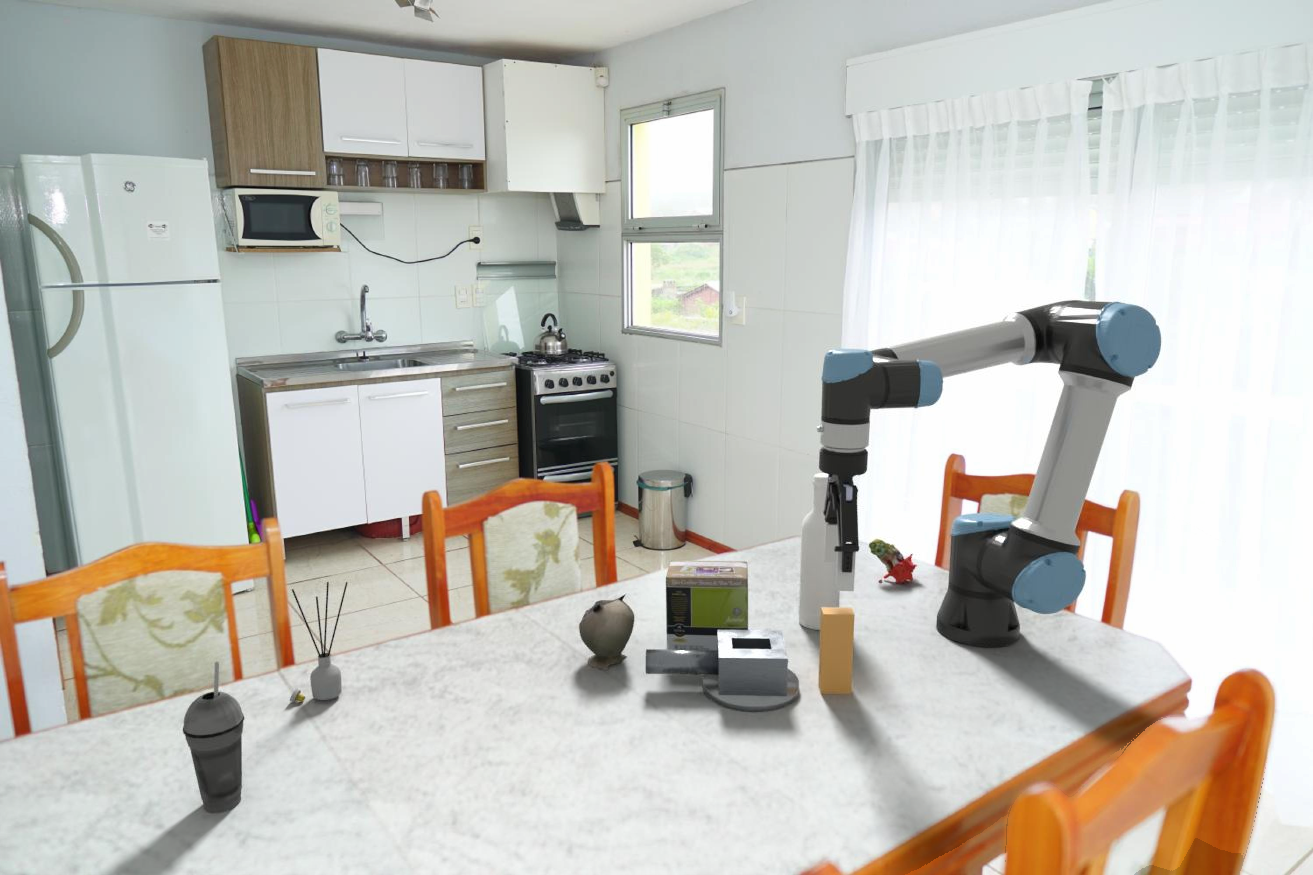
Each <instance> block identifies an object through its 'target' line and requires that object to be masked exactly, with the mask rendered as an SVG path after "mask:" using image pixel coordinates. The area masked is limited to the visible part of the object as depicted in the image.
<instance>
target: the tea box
mask: <svg viewBox="0 0 1313 875" xmlns="http://www.w3.org/2000/svg"><path fill="white" fill-rule="evenodd" d="M748 571H749V570H748V561H742V560H738V561H737V560H736V561H734V560H733V561H732V560H730V561H729V560H725V561H724V560H675V559H673V560H670V561H669V564H668V567H667V572H666V575H665V606H666V607H665V613H666V614H665V616H666V618H665V620H666V623H665V624H666V625H665V626H666V629H665V630H666V650H717V630H749V574H748Z"/></svg>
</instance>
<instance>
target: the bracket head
mask: <svg viewBox="0 0 1313 875" xmlns="http://www.w3.org/2000/svg"><path fill="white" fill-rule="evenodd" d="M785 644H786V643H785V640H784V635H783V631H782V630H780V629H779V630H777V629H774V630H772V629H771V630H770V629H768V630H767V629H759V630H758V629H748V630H717V650H667V649H654V648H653V649H650V648H649V649H646V650H645V674H646V675H688V676H689V675H696V676H697V675H698V676H699V675H700V676H702V675H703V676H702V692H703V693H704V695H705V696H706V698H708V699H709V700H710V701H712V702H713V703H715V704H717V705H719V706H721V707H723V708H727V709H730V710H734V711H740V712H750V713H758V712H759V713H761V712H770V711H776V710H780V709H782V708H785V707H788V706H789V705H791V704H792V703H793V702H795V701H796V700H797V698H798V696H799V692H800V690H799V688H800V680H799V678H798V676H797V675H796V673H794V671H792V670H791V669H789V665H788V664H789V663H788V662H789V658H788V653H787V649H786V648H787V647H786V645H785Z"/></svg>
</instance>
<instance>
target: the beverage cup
mask: <svg viewBox="0 0 1313 875" xmlns="http://www.w3.org/2000/svg"><path fill="white" fill-rule="evenodd" d="M219 665H220V662H219V661H215V662H214V679H213V680H214V682H213V685H214V686H213V691H210V692H206V693H203V694H202V695H199V696H198V697H197V698H196V699H194V701H192V703H191V704H190V705H189V707H188V708H187V710H186V712H185V714H184V717H183V726H182V732H183V733H182V734H184V736H185V740H186V743H187V746H188V747H189V750H190V753H191V755H190V756H191V758H192V762H193V763H192V764H193V767H194V772H195V776H196V781H197V785H198V786H197V787H198V788H199V789H198V790H199V795H200V799H201V800H202V805H203V810H204V811H205V812H207V813H210V814H218V813H223V812H228V811H230V810H232V809H234V808H235V807H237V806H239V804H240V803H241V801H242V788H243V779H242V778H243V776H242V774H243V770H242V769H243V767H242V766H243V760H242V759H243V758H242V756H243V753H242V749H243V748H242V747H243V744H242V743H243V741H242V738H243V737H242V736H243V732H244V721H245V715H244V713H243V711H242V707H241V705H240V703H239V702H238V700H237V699H236V698H235V697H234V696H232V695H231V694H229V693H226V692H223V691H219V680H220V679H219V676H220V675H219V674H220V671H219V670H220V669H219V668H220V666H219Z"/></svg>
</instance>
